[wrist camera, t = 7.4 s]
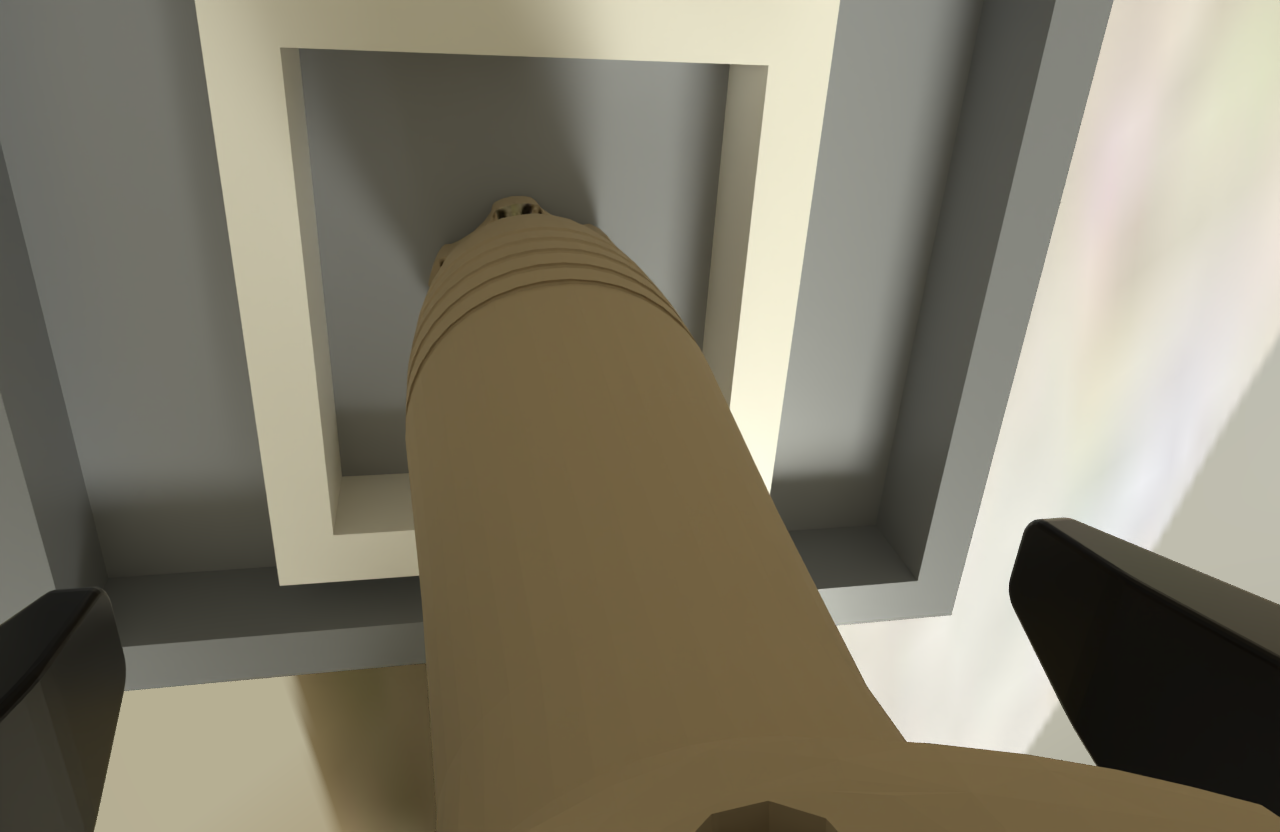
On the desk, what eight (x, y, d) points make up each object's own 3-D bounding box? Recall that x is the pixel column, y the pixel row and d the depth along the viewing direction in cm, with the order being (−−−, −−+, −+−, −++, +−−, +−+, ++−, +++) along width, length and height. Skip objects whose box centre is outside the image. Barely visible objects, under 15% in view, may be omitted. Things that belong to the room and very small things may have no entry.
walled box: (900, 547, 22) (951, 614, 20) (69, 610, 19) (22, 700, 17) (1051, -129, 16) (1149, -136, 14) (-164, -234, 12) (-288, -266, 10)
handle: (309, 169, 15) (-312, 1463, 2) (687, 119, 16) (1719, 880, 3) (374, 424, 18) (231, 1793, 5) (702, 369, 19) (1347, 1401, 6)
